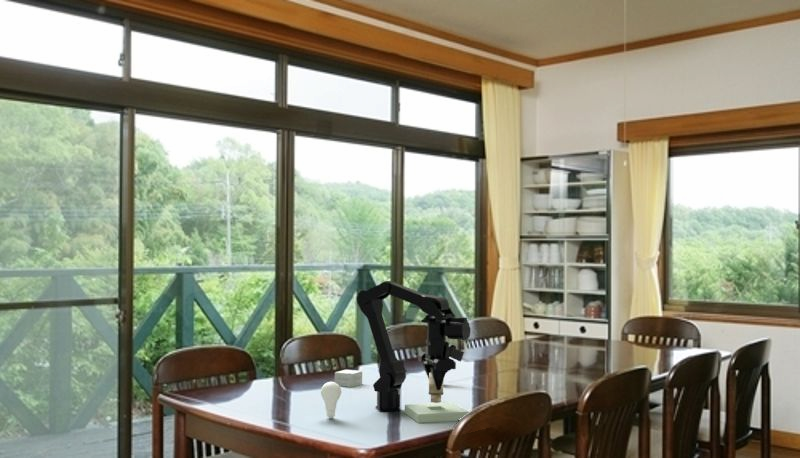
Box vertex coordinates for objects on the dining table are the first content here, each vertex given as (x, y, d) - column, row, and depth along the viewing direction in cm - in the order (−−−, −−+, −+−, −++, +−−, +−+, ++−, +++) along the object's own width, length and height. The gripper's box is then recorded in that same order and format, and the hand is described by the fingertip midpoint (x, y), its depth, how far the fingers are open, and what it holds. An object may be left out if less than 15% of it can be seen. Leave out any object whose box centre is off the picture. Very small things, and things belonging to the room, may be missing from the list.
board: (418, 422, 221) (418, 414, 221) (404, 412, 235) (404, 404, 235) (468, 419, 226) (468, 411, 226) (452, 410, 239) (452, 402, 239)
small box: (345, 382, 288) (345, 369, 288) (362, 384, 284) (362, 370, 284) (334, 385, 281) (334, 372, 281) (351, 387, 277) (351, 373, 277)
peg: (431, 403, 227) (431, 374, 228) (426, 400, 232) (426, 372, 232) (445, 402, 229) (445, 373, 229) (440, 399, 233) (440, 371, 233)
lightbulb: (317, 419, 224) (317, 382, 225) (326, 415, 230) (326, 379, 230) (335, 421, 222) (335, 384, 222) (344, 417, 228) (344, 380, 228)
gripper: (472, 340, 224) (471, 393, 224) (450, 333, 242) (450, 382, 242) (437, 341, 221) (436, 394, 221) (418, 334, 239) (417, 383, 238)
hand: (436, 388), depth 230 cm, fingers closed on peg, 4 cm apart
